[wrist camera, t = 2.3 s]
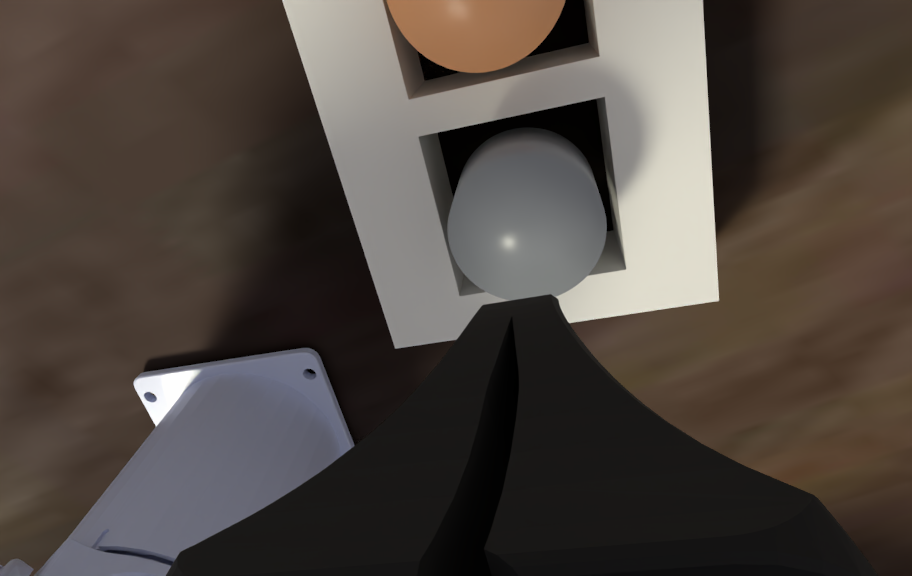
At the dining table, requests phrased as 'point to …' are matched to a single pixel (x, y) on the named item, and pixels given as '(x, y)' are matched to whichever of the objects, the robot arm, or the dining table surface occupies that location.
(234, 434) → the robot arm
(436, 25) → the orange rounded dome
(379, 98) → the button panel
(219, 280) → the dining table surface
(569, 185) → the grey button
